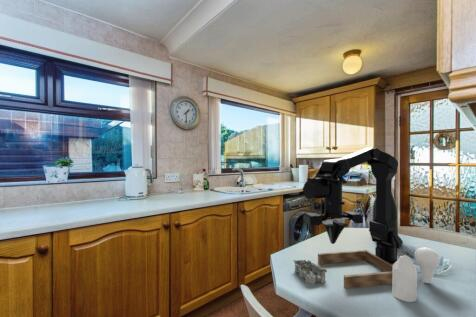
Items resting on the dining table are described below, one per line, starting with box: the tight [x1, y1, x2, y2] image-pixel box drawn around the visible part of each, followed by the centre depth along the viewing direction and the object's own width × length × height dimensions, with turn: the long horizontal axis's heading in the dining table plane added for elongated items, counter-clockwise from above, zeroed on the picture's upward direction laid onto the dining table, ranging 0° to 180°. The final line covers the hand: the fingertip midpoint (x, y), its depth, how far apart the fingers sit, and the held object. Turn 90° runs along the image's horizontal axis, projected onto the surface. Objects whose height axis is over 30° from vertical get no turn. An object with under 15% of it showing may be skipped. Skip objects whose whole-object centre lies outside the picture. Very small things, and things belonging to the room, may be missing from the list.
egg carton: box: [293, 259, 328, 285], centre depth 77 cm, size 11×8×4 cm
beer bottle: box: [371, 190, 399, 235], centre depth 108 cm, size 10×10×33 cm
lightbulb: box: [414, 246, 441, 284], centre depth 72 cm, size 6×6×11 cm
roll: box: [391, 254, 418, 303], centre depth 65 cm, size 6×12×6 cm
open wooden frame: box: [317, 249, 393, 290], centre depth 79 cm, size 20×17×4 cm
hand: (332, 243), depth 77 cm, fingers closed
